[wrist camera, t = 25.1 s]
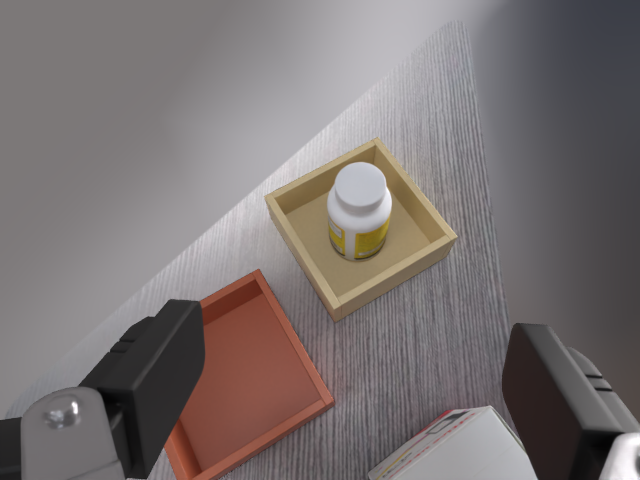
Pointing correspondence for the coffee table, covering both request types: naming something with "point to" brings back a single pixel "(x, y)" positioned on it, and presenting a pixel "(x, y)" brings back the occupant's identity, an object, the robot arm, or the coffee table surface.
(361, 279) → the cream bin
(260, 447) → the terracotta bin
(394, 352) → the coffee table surface
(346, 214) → the supplement bottle
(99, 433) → the robot arm
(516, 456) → the ink box
